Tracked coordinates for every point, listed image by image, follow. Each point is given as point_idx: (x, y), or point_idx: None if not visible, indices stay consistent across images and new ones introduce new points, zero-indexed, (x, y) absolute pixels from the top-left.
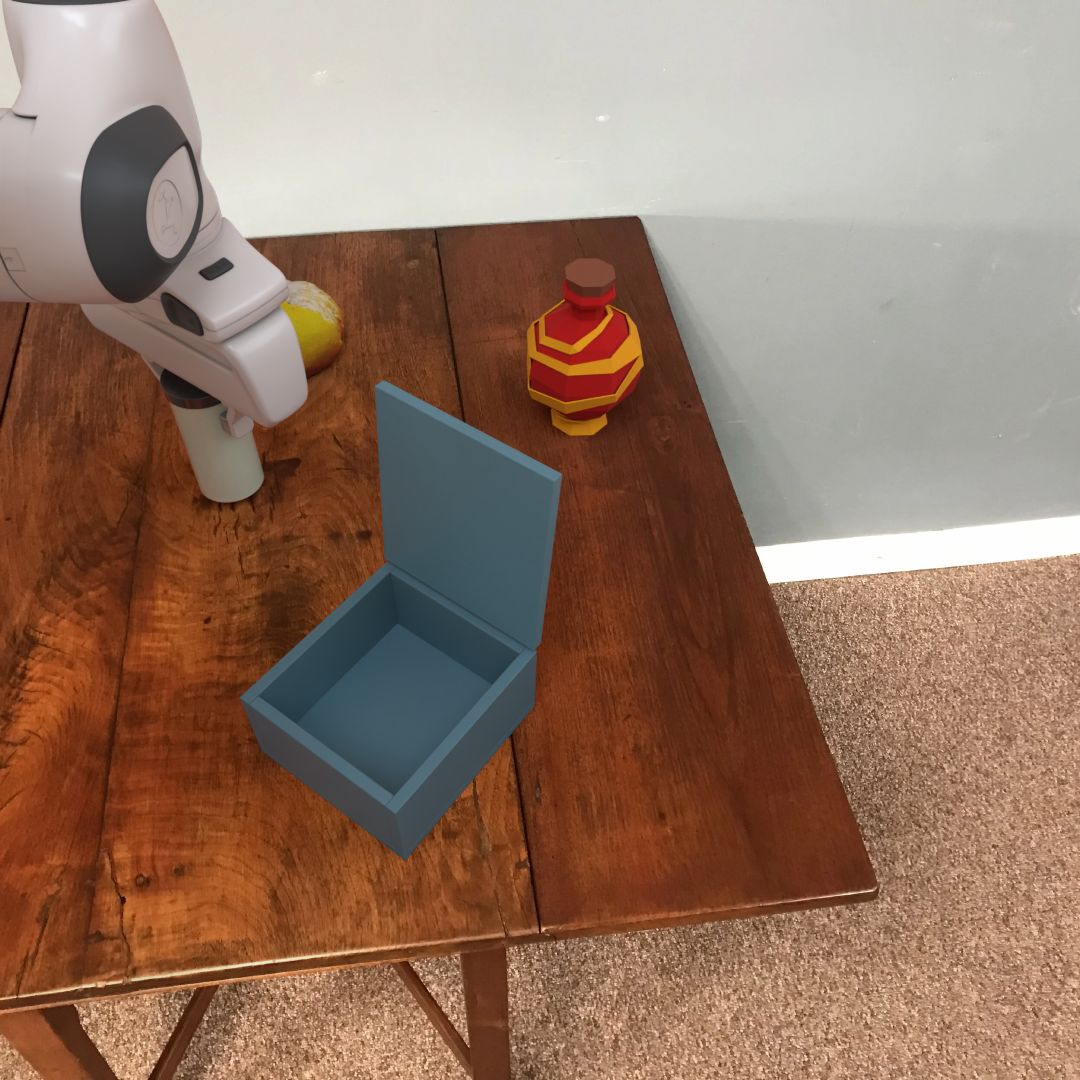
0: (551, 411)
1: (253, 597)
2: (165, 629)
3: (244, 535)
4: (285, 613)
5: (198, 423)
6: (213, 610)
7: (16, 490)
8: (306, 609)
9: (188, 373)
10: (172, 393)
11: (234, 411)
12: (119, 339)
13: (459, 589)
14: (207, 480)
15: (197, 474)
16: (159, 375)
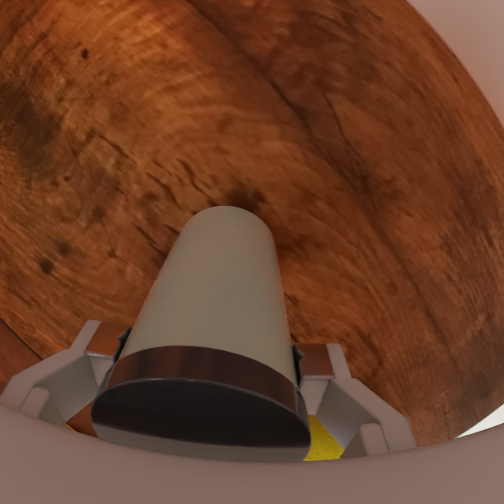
0: (76, 431)
1: (64, 115)
2: (120, 10)
3: (145, 184)
4: (26, 126)
5: (151, 318)
6: (88, 68)
7: (481, 101)
8: (15, 146)
9: (70, 482)
10: (184, 386)
11: (12, 379)
12: (466, 450)
13: None
14: (208, 223)
15: (231, 224)
16: (346, 393)
